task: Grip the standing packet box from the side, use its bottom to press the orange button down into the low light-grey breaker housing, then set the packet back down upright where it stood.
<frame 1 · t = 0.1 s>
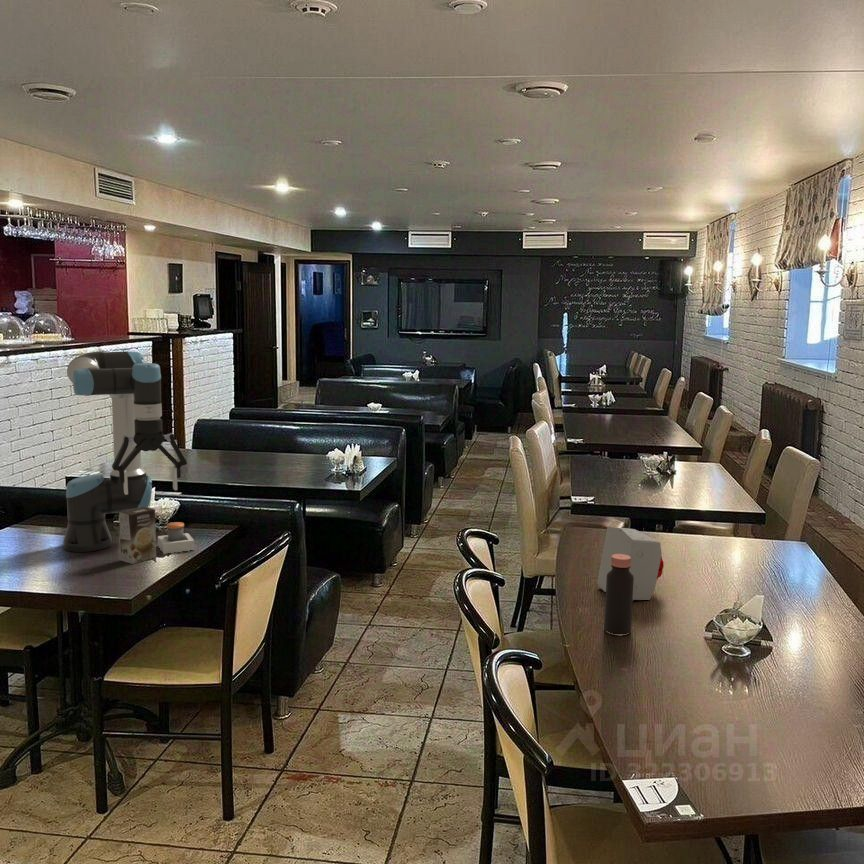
hand: (150, 491, 246), 28 cm above the table, tool pointing down, fingers open, 13 cm apart
breaker housing: (176, 548, 286), on the table
bottle: (617, 632, 221), on the table
coffee box: (138, 559, 274), on the table
electrical switch box: (633, 594, 250), on the table
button: (175, 532, 285), point 6 cm above the table, slide at 0.0 cm
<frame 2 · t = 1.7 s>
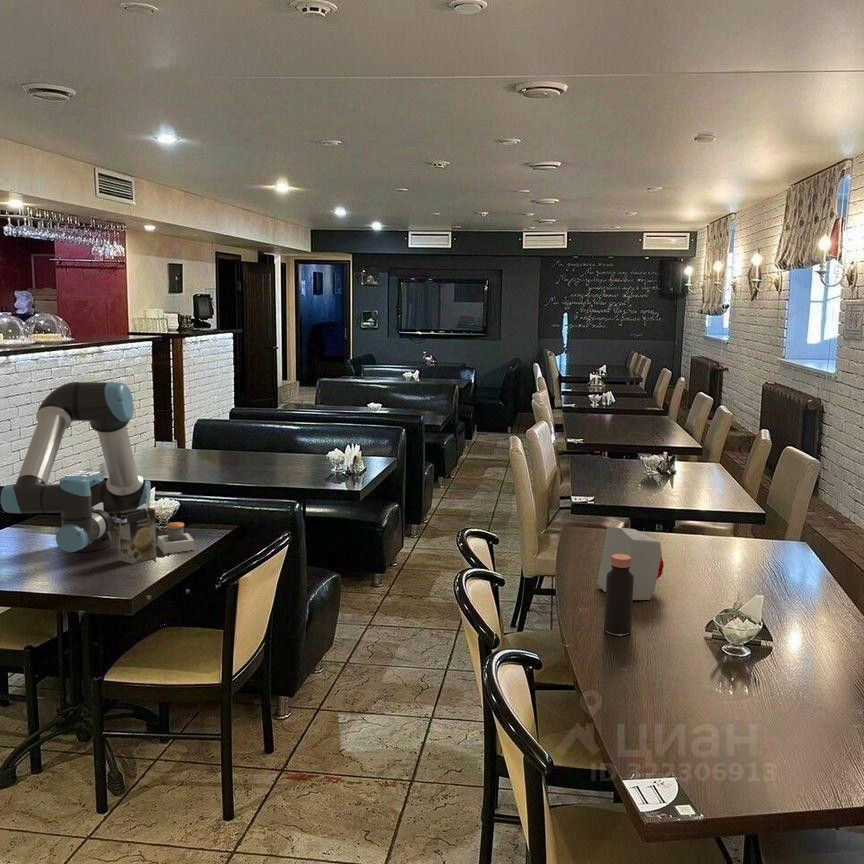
hand: (124, 507, 262), 19 cm above the table, tool horizontal, fingers open, 13 cm apart
nothing on the table moved.
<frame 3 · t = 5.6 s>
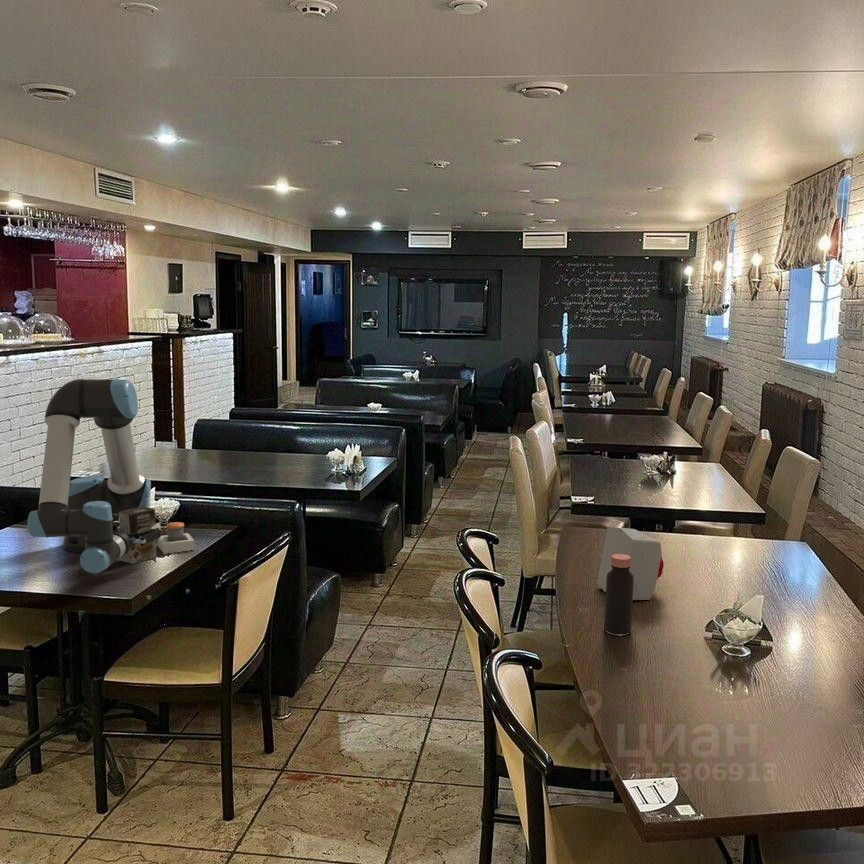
hand: (142, 526, 277), 10 cm above the table, tool horizontal, fingers closed on coffee box, 10 cm apart
coffee box: (138, 559, 274), on the table, touching gripper
everything else where it was.
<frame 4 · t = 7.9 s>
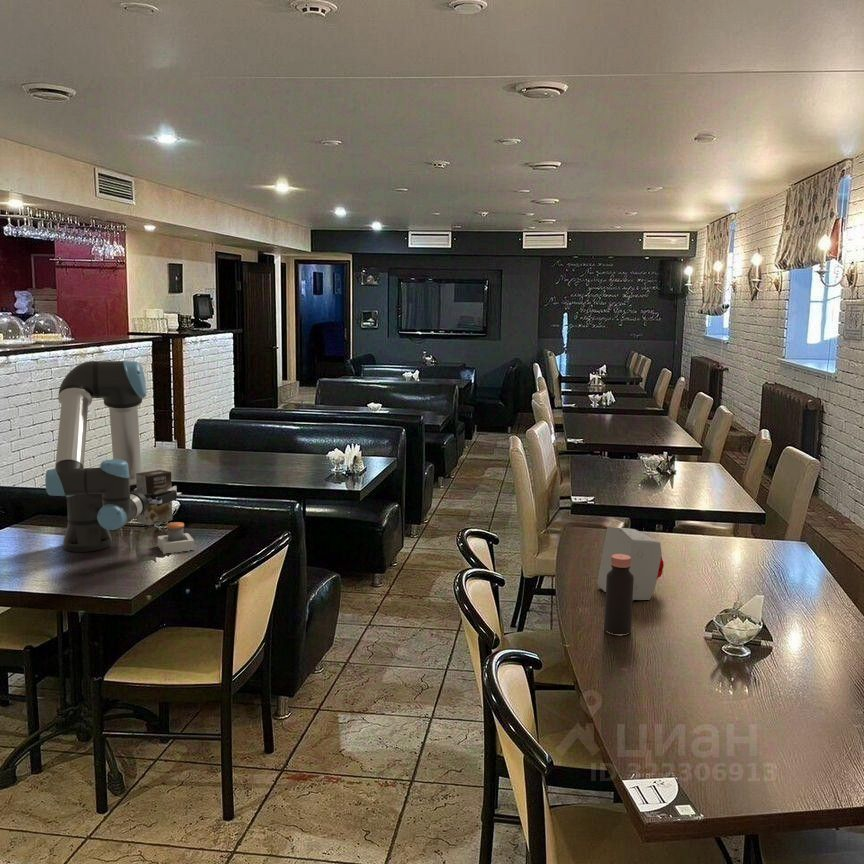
hand: (159, 489, 280), 21 cm above the table, tool horizontal, fingers closed on coffee box, 10 cm apart
coffee box: (155, 521, 277), point 11 cm above the table, touching gripper
everything else where it was.
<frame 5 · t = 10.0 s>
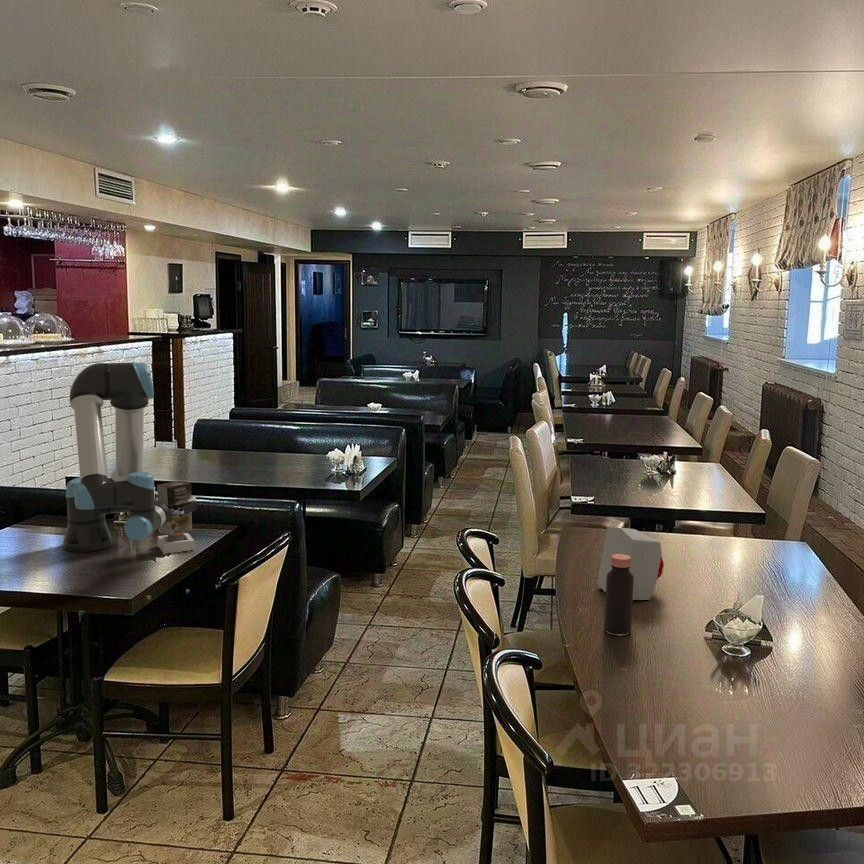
hand: (179, 500, 288), 16 cm above the table, tool horizontal, fingers closed on coffee box, 10 cm apart
coffee box: (175, 531, 285), point 6 cm above the table, touching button, gripper
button: (175, 538, 286), point 3 cm above the table, slide at 2.3 cm, touching coffee box
everything else where it was.
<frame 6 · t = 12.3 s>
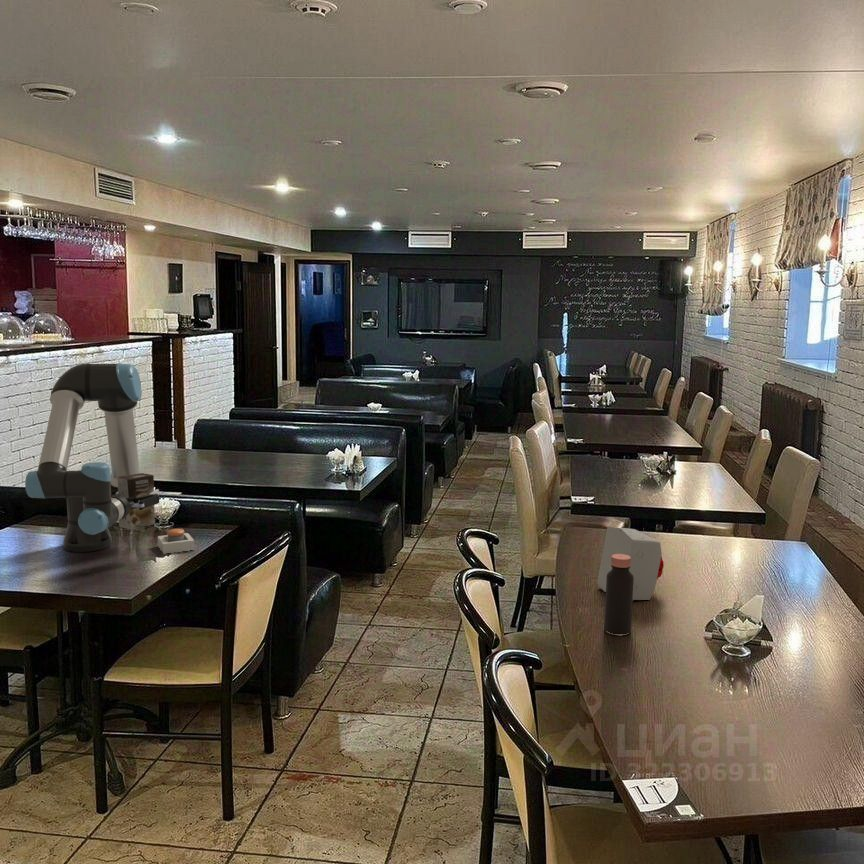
hand: (141, 493, 275), 21 cm above the table, tool horizontal, fingers closed on coffee box, 10 cm apart
coffee box: (137, 526, 272), point 11 cm above the table, touching gripper
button: (175, 538, 286), point 3 cm above the table, slide at 2.3 cm
everything else where it was.
when the fingers open (11 cm above the table, at t = 14.5 s): coffee box drops 1 cm, on the table.
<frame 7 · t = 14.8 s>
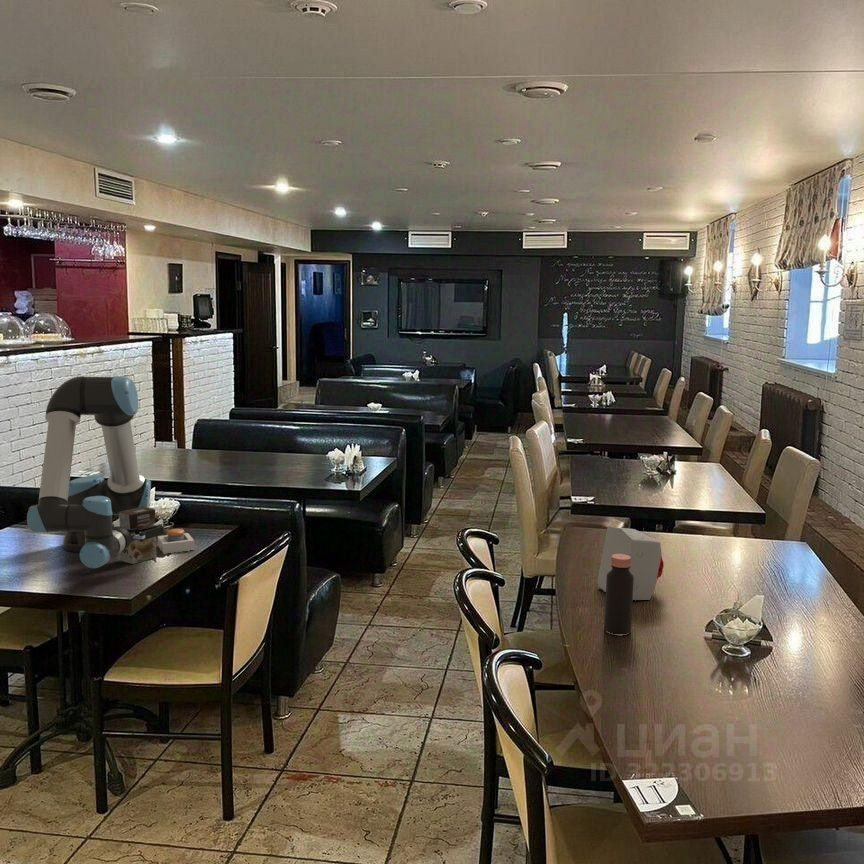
hand: (141, 522, 276), 11 cm above the table, tool horizontal, fingers open, 13 cm apart
coffee box: (139, 559, 274), on the table
everything else where it was.
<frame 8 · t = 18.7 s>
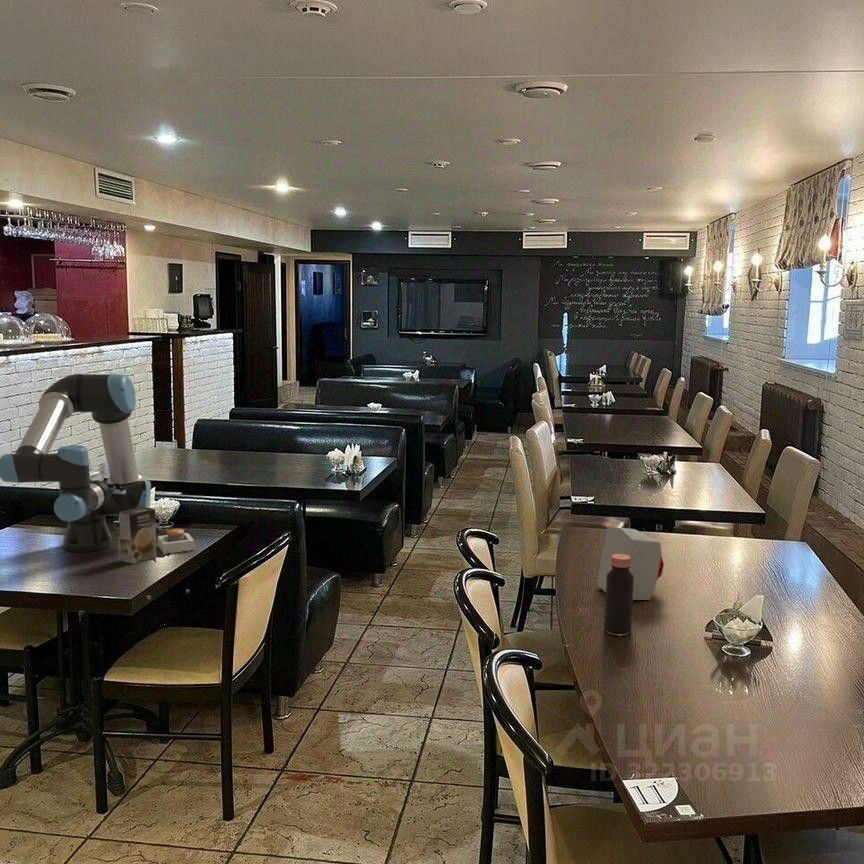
hand: (122, 479, 260), 28 cm above the table, tool horizontal, fingers open, 13 cm apart
nothing on the table moved.
at the end: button slide at 2.3 cm; coffee box inside the target area (0.2 cm from its centre), on the table; coffee box tilted 0° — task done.
